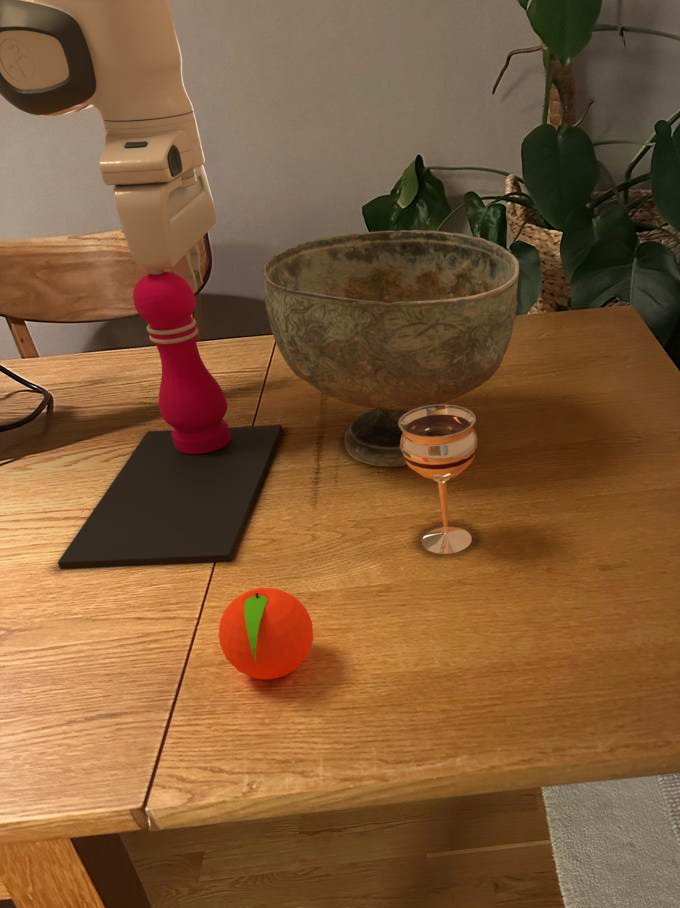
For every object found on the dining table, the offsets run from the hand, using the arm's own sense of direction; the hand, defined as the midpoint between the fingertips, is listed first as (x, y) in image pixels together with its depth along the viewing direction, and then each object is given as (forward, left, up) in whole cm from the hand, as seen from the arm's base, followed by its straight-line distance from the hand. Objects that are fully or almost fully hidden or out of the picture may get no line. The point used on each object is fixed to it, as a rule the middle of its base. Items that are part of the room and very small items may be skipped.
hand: (192, 290), depth 93 cm
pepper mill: (0, -8, -14) cm, 17 cm away
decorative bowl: (+23, -9, -15) cm, 29 cm away
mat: (0, -19, -15) cm, 24 cm away
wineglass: (+28, -31, -15) cm, 44 cm away
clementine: (+15, -49, -15) cm, 53 cm away
